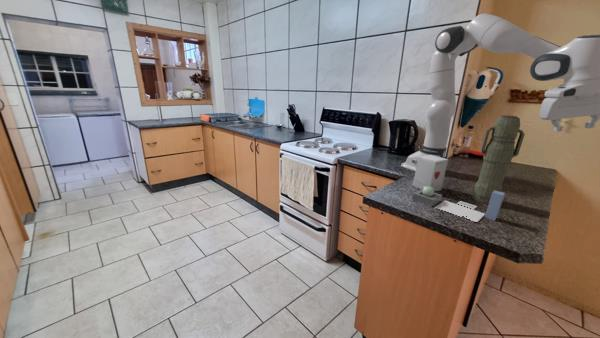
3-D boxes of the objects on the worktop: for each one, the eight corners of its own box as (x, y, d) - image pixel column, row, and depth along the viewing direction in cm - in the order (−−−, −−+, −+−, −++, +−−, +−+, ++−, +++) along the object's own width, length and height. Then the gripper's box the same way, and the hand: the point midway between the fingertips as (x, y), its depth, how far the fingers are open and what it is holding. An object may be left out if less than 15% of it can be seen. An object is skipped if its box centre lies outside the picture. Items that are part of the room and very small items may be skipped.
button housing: (412, 199, 101) (413, 193, 100) (421, 195, 106) (422, 188, 105) (431, 207, 95) (433, 200, 94) (440, 201, 100) (441, 195, 99)
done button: (420, 195, 100) (421, 187, 99) (424, 193, 102) (426, 185, 101) (430, 198, 97) (431, 190, 96) (434, 196, 99) (436, 188, 98)
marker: (484, 217, 88) (492, 192, 85) (487, 214, 90) (494, 190, 87) (494, 220, 86) (502, 195, 83) (496, 218, 88) (505, 193, 85)
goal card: (456, 204, 98) (456, 203, 98) (460, 201, 100) (460, 200, 100) (473, 209, 94) (473, 208, 93) (476, 206, 96) (477, 206, 96)
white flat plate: (434, 208, 94) (434, 207, 94) (444, 201, 100) (445, 200, 100) (476, 223, 84) (476, 222, 84) (485, 214, 90) (485, 213, 90)
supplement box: (429, 193, 107) (436, 161, 103) (412, 186, 115) (417, 156, 110) (441, 190, 111) (449, 159, 107) (424, 183, 119) (430, 154, 114)
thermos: (506, 207, 96) (535, 118, 85) (472, 202, 100) (496, 116, 88) (496, 198, 104) (522, 115, 93) (465, 194, 108) (486, 114, 96)
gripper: (609, 83, 81) (599, 124, 86) (539, 92, 85) (533, 131, 89) (630, 83, 75) (619, 127, 80) (554, 93, 79) (547, 134, 83)
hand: (573, 129), depth 84 cm, fingers open, 8 cm apart
